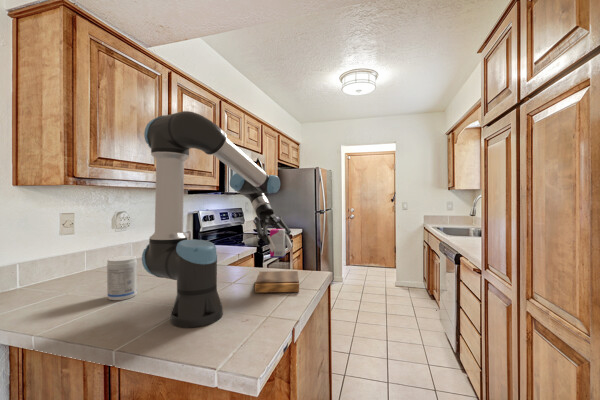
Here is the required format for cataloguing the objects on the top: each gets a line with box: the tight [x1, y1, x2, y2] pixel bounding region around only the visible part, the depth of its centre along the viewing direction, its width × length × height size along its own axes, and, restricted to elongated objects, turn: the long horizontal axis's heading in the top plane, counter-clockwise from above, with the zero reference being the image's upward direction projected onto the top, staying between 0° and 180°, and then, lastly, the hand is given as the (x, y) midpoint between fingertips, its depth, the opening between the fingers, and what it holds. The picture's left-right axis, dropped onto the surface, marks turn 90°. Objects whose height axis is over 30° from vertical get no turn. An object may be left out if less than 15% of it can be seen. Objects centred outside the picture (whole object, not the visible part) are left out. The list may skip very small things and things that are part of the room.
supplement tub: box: [106, 255, 138, 301], centre depth 106 cm, size 10×10×15 cm
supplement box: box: [269, 228, 287, 259], centre depth 119 cm, size 6×6×12 cm
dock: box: [254, 270, 300, 294], centre depth 118 cm, size 17×18×4 cm
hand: (282, 249), depth 116 cm, fingers closed on supplement box, 8 cm apart
